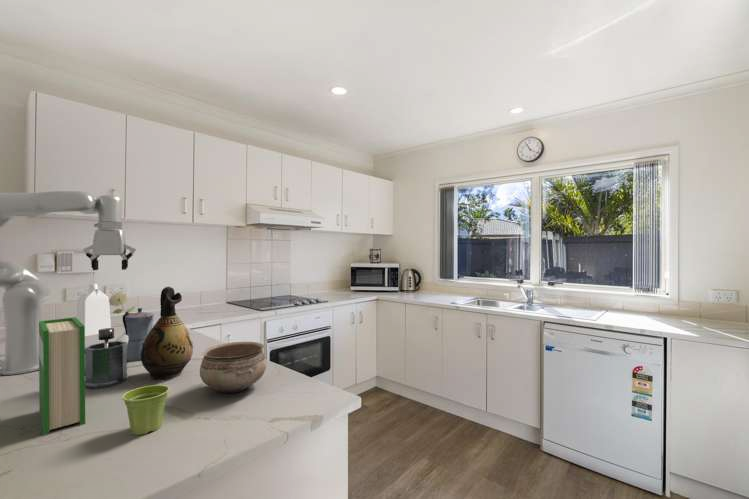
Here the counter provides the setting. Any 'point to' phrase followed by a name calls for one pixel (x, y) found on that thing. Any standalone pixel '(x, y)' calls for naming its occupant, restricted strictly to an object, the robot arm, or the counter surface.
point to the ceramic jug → (167, 341)
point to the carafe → (105, 365)
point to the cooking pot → (233, 366)
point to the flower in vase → (116, 301)
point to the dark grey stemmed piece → (106, 335)
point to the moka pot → (136, 332)
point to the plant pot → (145, 407)
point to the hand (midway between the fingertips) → (110, 269)
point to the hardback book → (61, 373)
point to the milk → (93, 310)
